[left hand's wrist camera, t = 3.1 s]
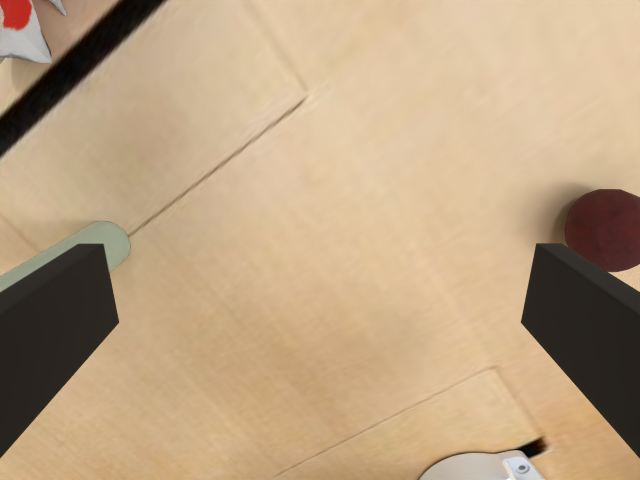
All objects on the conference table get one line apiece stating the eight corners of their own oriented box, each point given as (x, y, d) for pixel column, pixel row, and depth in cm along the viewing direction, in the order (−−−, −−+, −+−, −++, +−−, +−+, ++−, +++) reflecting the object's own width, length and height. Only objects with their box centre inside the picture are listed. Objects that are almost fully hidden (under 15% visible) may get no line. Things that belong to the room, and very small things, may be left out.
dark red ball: (566, 266, 43) (611, 297, 36) (537, 206, 40) (579, 229, 34) (634, 229, 41) (695, 255, 35) (608, 165, 39) (667, 180, 32)
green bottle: (79, 256, 42) (-81, 365, 25) (86, 214, 41) (-80, 300, 24) (126, 270, 43) (-1, 386, 26) (134, 229, 41) (5, 324, 24)
